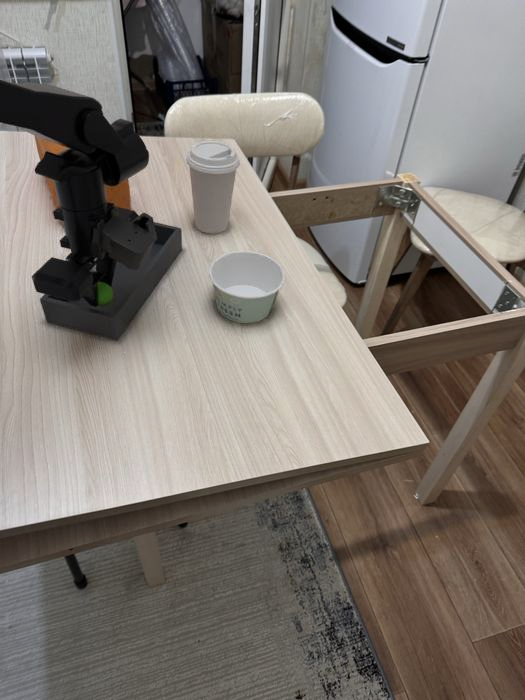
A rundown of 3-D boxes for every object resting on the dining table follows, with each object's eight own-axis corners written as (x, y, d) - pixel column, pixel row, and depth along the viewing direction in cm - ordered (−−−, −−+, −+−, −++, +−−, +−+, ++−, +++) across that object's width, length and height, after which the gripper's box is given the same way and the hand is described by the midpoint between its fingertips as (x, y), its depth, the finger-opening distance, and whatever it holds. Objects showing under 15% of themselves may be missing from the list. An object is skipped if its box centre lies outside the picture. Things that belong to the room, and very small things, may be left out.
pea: (85, 307, 71) (81, 288, 68) (97, 293, 73) (93, 274, 71) (107, 313, 70) (104, 294, 68) (118, 298, 73) (115, 280, 70)
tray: (46, 322, 73) (39, 299, 70) (123, 235, 91) (120, 214, 87) (117, 341, 72) (114, 318, 68) (182, 249, 89) (181, 228, 86)
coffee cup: (198, 242, 91) (199, 165, 81) (179, 216, 97) (177, 141, 86) (243, 232, 95) (249, 158, 85) (223, 209, 101) (226, 136, 90)
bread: (62, 234, 89) (43, 149, 78) (41, 170, 105) (22, 92, 94) (136, 223, 94) (128, 141, 83) (106, 163, 110) (95, 88, 99)
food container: (194, 313, 77) (194, 280, 73) (228, 274, 85) (230, 242, 81) (262, 339, 75) (266, 307, 70) (291, 296, 83) (296, 265, 78)
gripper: (107, 255, 53) (122, 354, 64) (172, 181, 66) (176, 274, 77) (14, 232, 54) (45, 333, 65) (96, 164, 67) (111, 258, 78)
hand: (100, 297), depth 71 cm, fingers closed on pea, 3 cm apart
